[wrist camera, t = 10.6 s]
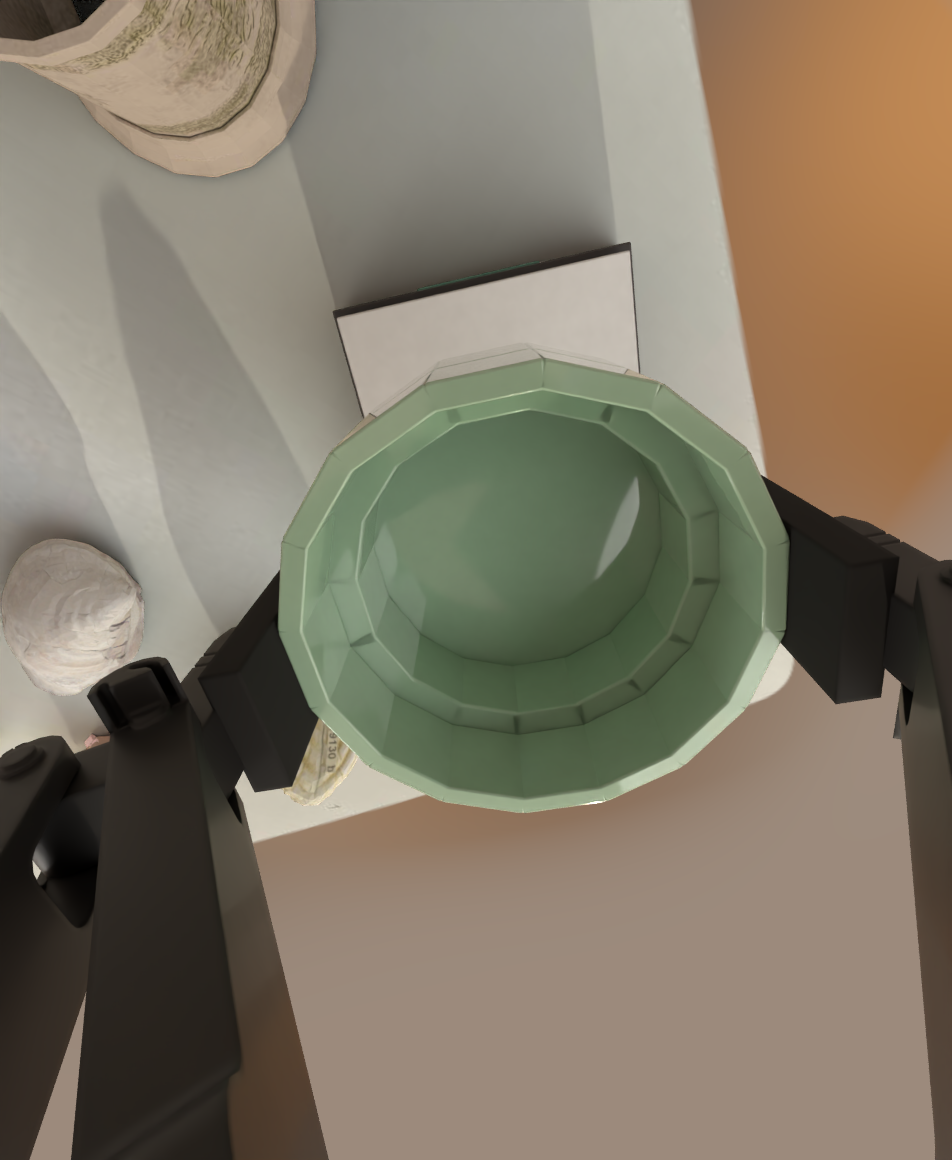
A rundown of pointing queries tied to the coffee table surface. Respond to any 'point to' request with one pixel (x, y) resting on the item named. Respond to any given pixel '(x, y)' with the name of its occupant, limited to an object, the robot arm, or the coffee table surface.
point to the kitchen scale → (494, 319)
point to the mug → (175, 72)
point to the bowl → (532, 581)
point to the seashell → (321, 767)
